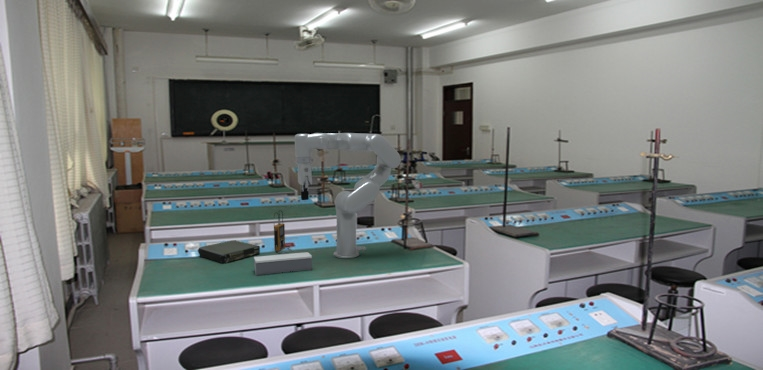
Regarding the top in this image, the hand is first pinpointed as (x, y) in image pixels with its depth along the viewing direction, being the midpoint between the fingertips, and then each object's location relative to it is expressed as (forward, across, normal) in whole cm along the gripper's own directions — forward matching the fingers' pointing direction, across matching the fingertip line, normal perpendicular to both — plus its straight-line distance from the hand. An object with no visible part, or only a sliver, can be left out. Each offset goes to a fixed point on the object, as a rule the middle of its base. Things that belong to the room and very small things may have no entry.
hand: (304, 199), depth 224 cm
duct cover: (+23, -13, +13) cm, 30 cm away
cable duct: (+28, -13, +14) cm, 34 cm away
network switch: (+29, +20, +34) cm, 49 cm away
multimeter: (+29, +21, +6) cm, 36 cm away
